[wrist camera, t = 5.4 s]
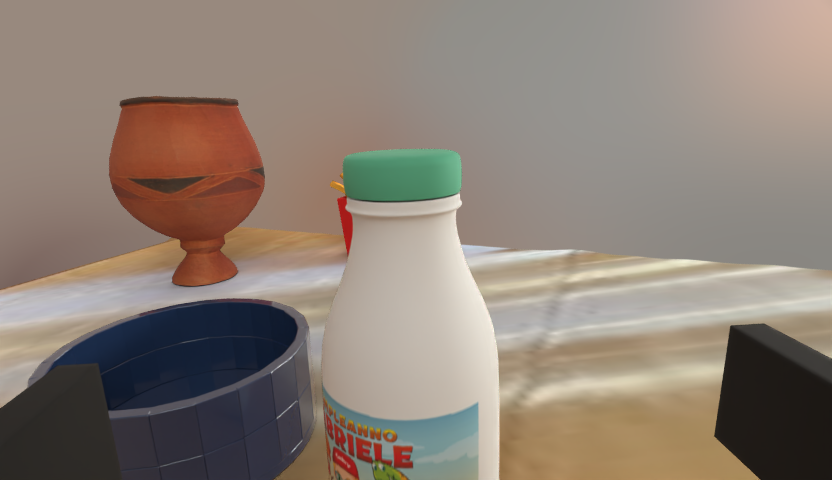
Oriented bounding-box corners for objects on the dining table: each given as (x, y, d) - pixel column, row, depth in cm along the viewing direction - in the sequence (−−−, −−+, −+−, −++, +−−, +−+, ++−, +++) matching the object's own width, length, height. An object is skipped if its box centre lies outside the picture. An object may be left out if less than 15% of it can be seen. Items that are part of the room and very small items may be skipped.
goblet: (280, 253, 80) (263, 100, 74) (267, 292, 61) (243, 92, 55) (158, 263, 76) (130, 103, 70) (106, 307, 58) (62, 96, 52)
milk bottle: (394, 484, 28) (376, 145, 23) (519, 536, 24) (530, 144, 19) (304, 594, 22) (253, 158, 17) (455, 689, 18) (446, 161, 13)
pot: (358, 443, 32) (351, 349, 30) (55, 592, 22) (19, 466, 21) (269, 353, 45) (260, 284, 43) (52, 423, 35) (31, 338, 33)
